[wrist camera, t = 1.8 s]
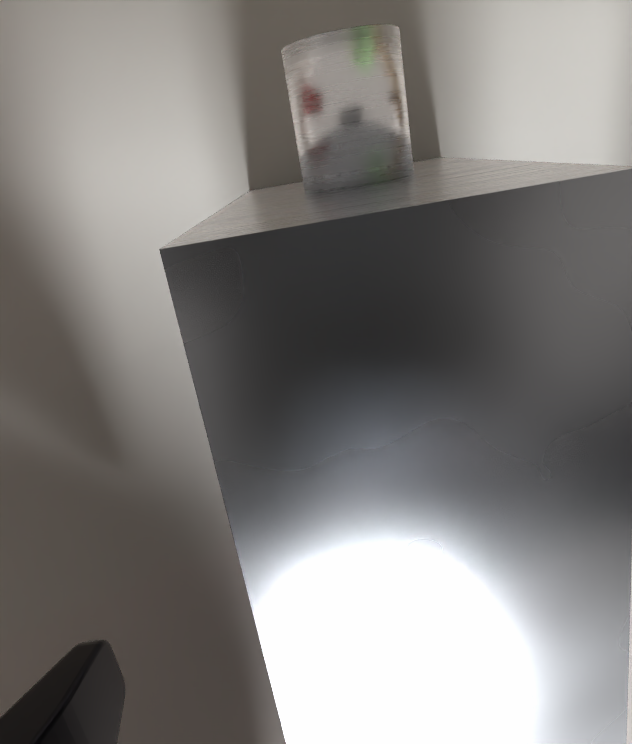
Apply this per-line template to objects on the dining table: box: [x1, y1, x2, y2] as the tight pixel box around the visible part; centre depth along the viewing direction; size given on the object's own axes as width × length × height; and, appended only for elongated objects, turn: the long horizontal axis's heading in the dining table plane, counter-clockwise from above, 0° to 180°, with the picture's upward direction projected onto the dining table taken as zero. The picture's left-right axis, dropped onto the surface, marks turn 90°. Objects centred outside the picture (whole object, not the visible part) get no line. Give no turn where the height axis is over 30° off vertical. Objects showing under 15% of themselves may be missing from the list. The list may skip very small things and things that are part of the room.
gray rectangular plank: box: [159, 24, 632, 744], centre depth 8 cm, size 13×3×6 cm, turn 9°
